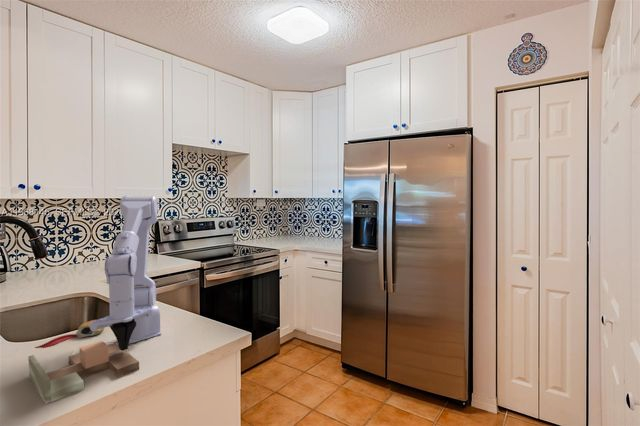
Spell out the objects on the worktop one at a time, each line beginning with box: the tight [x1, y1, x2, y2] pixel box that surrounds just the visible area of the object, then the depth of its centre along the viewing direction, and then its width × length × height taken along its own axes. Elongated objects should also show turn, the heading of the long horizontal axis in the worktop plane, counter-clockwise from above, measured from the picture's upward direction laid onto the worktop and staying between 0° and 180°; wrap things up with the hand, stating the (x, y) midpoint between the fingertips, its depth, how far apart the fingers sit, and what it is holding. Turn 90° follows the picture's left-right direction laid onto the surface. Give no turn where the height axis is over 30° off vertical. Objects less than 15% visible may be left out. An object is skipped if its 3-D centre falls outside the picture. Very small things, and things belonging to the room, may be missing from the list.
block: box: [79, 340, 109, 369], centre depth 87 cm, size 5×4×4 cm
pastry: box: [75, 319, 105, 338], centre depth 110 cm, size 9×7×4 cm
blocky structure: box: [27, 342, 140, 405], centre depth 85 cm, size 19×16×5 cm
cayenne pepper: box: [34, 333, 78, 349], centre depth 103 cm, size 12×5×2 cm, turn 130°
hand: (123, 348), depth 92 cm, fingers closed
